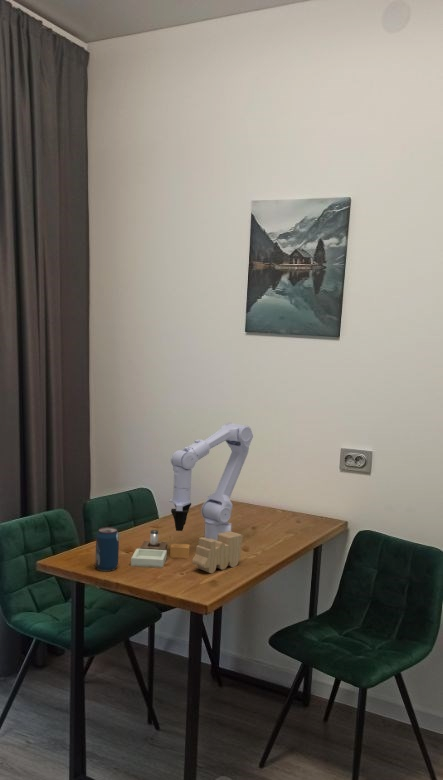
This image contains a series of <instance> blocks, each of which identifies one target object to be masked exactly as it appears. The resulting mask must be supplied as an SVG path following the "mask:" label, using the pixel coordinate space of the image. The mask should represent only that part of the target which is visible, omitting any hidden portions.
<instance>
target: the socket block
mask: <svg viewBox="0 0 443 780" xmlns="http://www.w3.org/2000/svg"><path fill="white" fill-rule="evenodd" d="M139 549H154V550H167V551H168V541H158V547H150V540H143V542H142V543H141V546H140V547H139Z"/></svg>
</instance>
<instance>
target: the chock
mask: <svg viewBox="0 0 443 780" xmlns="http://www.w3.org/2000/svg"><path fill="white" fill-rule="evenodd" d="M190 547H191V544H186V543H171V545H170V549H169V550H170V551H169V558H180V559H189V557H190V550H191V549H190Z"/></svg>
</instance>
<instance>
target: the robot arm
mask: <svg viewBox="0 0 443 780" xmlns="http://www.w3.org/2000/svg"><path fill="white" fill-rule="evenodd" d="M253 438H254V434H253V431H252V428H251V427H250V426H249V425H246V424H245V425H243V424H239V423H232V422H227V423H225V424H223V425H221V427H220V428H219V429H218V430H217V431H216V432H214V433H213V434H212V435H210V436H209V437H207V438H205V440H204V439H196V440H194V442H193V443H191V444H190V445H188V446H185V447H184V448H183V449H182V450H181V449H178V450H176V451H175V452H174V453H173V454H172V457H171V458H170V464H171V465H172V470H173V488H172V489H173V491H172V494H173V495H172V498H170V499H169V501H168V502H169V503H173V505H174V507H175V508H171V510H170V513H171V514H172V517H173V520H174V527H175V531H177V532H183V531H184V527H185V525H186V522H187V518H188V513H189V510H190V508H191V506H192V500H191V495H192V493H191V491H192V490H191V489H192V487H191V486H192V469H193V468H194V467H195V465H196V464H197V462H198V461H199V460H202V459H203V458H205V457H206V456H207V455H209V453H210V450H211V449H213V448H214V447H216V446H218V445H220V444H222V443H224V442H225V443H226V444H227V445H228V447H229V448H230V450H231V453H230V456H229V457H228V460H227V463H226V465H225V468H224V470H223V473H222V475H221V477H220V480H219V482H218V484H217V487H216V488H215V492H214V493H212V494H210V495H208V496H207V497H206V498H207V499H206V500H205V501H204V503H203V504H202V506H201V508H200V514H201V516H202V517H203V522H204V538H207V539H214V540H217V538H218V534H219V533H224V532H229V531H231V532H232V522H229V520H230V519H231V517H232V509H233V506H234V505H233V503H232V501H231V499H230V498H231V496H232V493H233V490H234V488H235V486H236V483H237V481H238V478H239V476H240V473H241V471H242V469H243V466H244V464H245V461H246V459H247V456H248V454H249V449H250V445H251V443H252V441H253Z"/></svg>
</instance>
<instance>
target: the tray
mask: <svg viewBox="0 0 443 780" xmlns="http://www.w3.org/2000/svg"><path fill="white" fill-rule="evenodd" d="M167 556H168V549H167V550H154V549H140V548H136V549H135V551H134V553H133V555H131V558H130V566H131V567H142V568H143V567H144V568H146V567H147V568H159V569H161V568H162V569H163V568H164V566H165V564H166V561H167V558H168V557H167Z"/></svg>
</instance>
